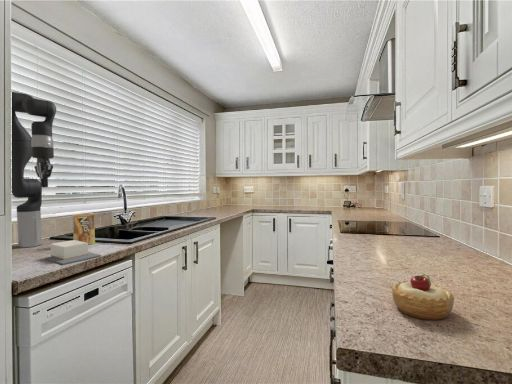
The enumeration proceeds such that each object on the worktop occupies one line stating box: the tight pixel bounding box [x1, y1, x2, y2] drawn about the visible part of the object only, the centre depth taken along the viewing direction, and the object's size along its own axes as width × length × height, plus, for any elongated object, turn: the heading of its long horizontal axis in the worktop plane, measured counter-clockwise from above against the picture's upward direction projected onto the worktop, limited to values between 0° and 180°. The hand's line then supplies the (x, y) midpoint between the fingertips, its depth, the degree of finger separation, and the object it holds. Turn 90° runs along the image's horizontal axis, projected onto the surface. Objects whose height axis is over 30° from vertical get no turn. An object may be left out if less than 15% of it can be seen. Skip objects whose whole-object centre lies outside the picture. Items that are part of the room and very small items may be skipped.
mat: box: [44, 251, 102, 266], centre depth 115 cm, size 16×14×1 cm
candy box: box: [72, 212, 96, 246], centre depth 140 cm, size 9×4×15 cm, turn 129°
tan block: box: [49, 240, 89, 260], centre depth 116 cm, size 5×9×12 cm
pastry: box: [391, 273, 455, 321], centre depth 64 cm, size 12×12×9 cm
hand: (44, 187), depth 121 cm, fingers closed
